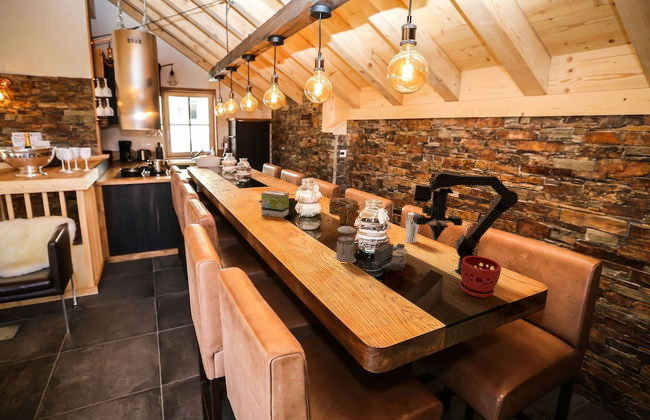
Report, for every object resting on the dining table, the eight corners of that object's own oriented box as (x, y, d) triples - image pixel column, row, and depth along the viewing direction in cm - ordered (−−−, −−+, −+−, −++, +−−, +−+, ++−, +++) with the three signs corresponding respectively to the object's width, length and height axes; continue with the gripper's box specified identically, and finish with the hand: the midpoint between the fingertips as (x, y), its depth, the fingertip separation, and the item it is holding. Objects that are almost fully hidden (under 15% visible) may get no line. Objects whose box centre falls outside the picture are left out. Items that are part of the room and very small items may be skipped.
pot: (392, 258, 161) (393, 245, 160) (412, 264, 155) (413, 251, 154) (363, 272, 145) (364, 258, 143) (384, 279, 138) (385, 265, 137)
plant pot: (451, 291, 131) (455, 260, 128) (467, 281, 140) (471, 252, 137) (487, 304, 122) (493, 272, 119) (502, 293, 131) (507, 262, 128)
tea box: (260, 215, 226) (260, 192, 223) (267, 211, 236) (267, 189, 232) (282, 217, 222) (283, 194, 219) (288, 214, 232) (289, 191, 228)
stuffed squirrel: (360, 227, 209) (361, 205, 206) (336, 225, 211) (337, 203, 208) (361, 222, 218) (362, 201, 215) (338, 221, 220) (339, 200, 217)
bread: (328, 213, 238) (329, 198, 236) (330, 209, 249) (331, 195, 246) (356, 215, 236) (357, 200, 233) (357, 211, 246) (358, 197, 244)
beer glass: (417, 244, 182) (420, 215, 179) (404, 242, 183) (406, 214, 180) (417, 240, 189) (420, 212, 185) (403, 238, 190) (406, 211, 187)
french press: (358, 257, 161) (361, 203, 155) (353, 266, 150) (356, 209, 144) (336, 254, 163) (339, 201, 158) (330, 263, 153) (332, 206, 147)
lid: (390, 244, 160) (391, 233, 159) (412, 250, 154) (413, 238, 153) (365, 259, 142) (366, 246, 140) (389, 265, 136) (390, 252, 135)
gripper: (454, 199, 152) (449, 234, 156) (411, 198, 151) (407, 233, 154) (465, 205, 141) (460, 243, 145) (419, 204, 140) (415, 242, 144)
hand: (435, 240), depth 147 cm, fingers closed
